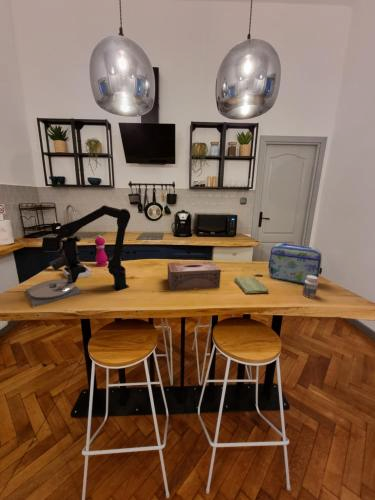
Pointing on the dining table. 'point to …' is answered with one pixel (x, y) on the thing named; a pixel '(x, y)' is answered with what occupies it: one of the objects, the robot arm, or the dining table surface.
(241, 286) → the washcloth
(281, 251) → the lunch box
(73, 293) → the crank board
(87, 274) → the tray
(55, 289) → the crank
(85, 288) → the dining table surface
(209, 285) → the tissue box cover
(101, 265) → the pepper mill
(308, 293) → the pill bottle
